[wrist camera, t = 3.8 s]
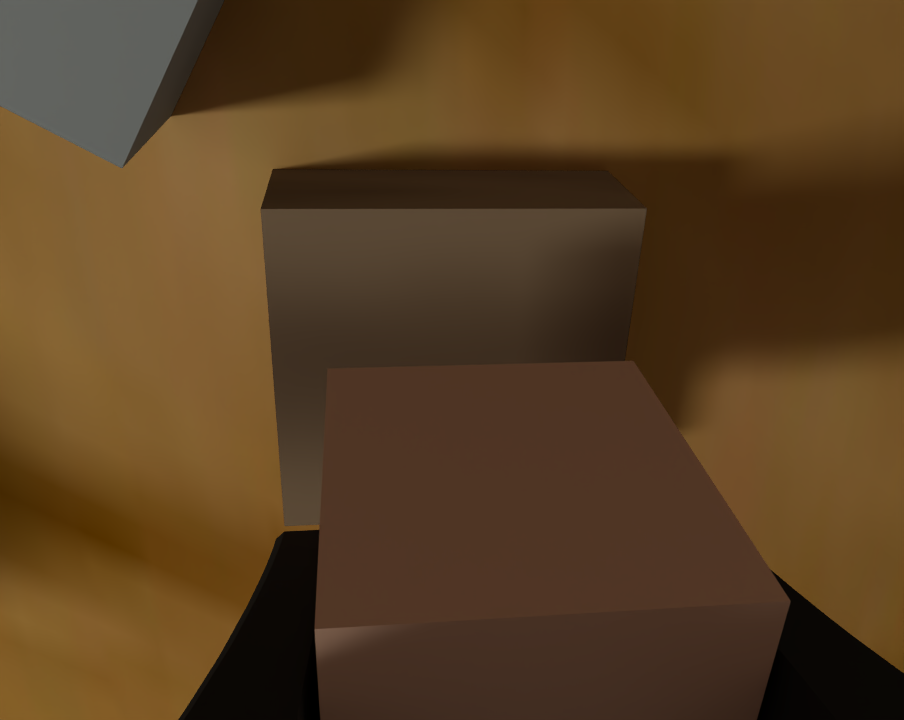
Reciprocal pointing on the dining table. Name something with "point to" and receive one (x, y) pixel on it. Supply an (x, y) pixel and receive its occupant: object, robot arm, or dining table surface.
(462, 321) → the walnut slab
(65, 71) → the slate cube
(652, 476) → the terracotta cube
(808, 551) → the dining table surface
